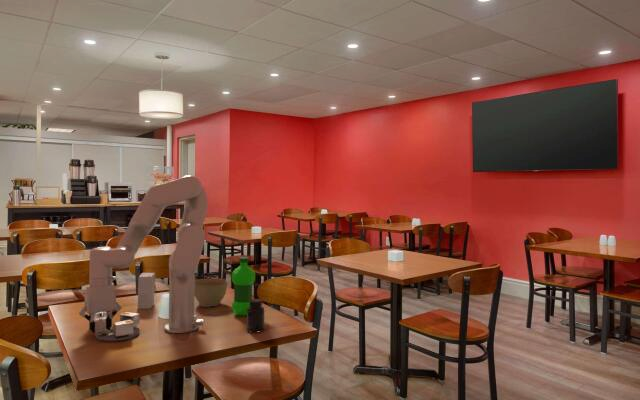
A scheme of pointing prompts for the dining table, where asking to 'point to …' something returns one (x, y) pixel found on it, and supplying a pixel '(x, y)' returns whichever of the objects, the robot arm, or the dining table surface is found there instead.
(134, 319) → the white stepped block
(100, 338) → the tribrach plate
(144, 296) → the skincare box
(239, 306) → the plastic bottle
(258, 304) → the supplement bottle
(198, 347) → the dining table surface
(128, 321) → the knob
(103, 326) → the white block
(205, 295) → the planter bowl
